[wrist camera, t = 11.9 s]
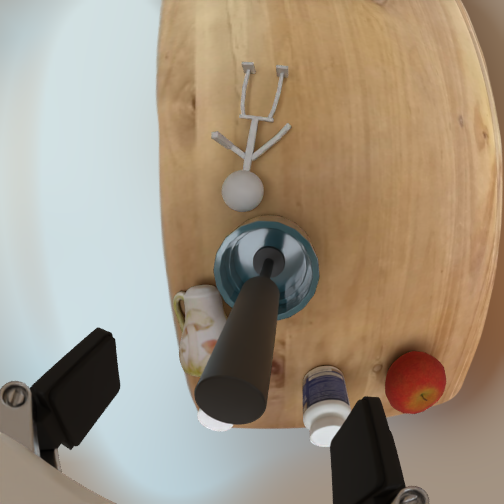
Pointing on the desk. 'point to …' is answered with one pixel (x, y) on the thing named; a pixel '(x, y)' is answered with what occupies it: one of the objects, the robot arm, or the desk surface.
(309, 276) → the bowl
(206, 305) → the mug
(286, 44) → the desk surface
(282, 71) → the figurine
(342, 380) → the pill bottle
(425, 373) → the apple
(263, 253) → the cylinder on disc stand
